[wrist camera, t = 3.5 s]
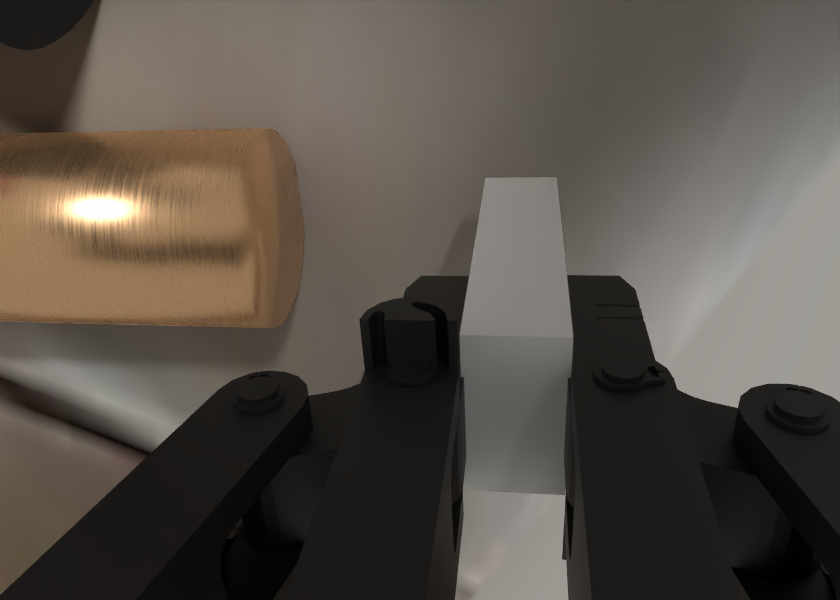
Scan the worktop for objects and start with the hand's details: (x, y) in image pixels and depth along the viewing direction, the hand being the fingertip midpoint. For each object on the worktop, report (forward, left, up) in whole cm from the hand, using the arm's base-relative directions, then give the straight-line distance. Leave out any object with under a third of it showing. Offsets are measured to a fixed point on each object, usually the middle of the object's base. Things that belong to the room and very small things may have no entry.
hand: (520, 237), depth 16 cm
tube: (+11, 0, -2) cm, 12 cm away
